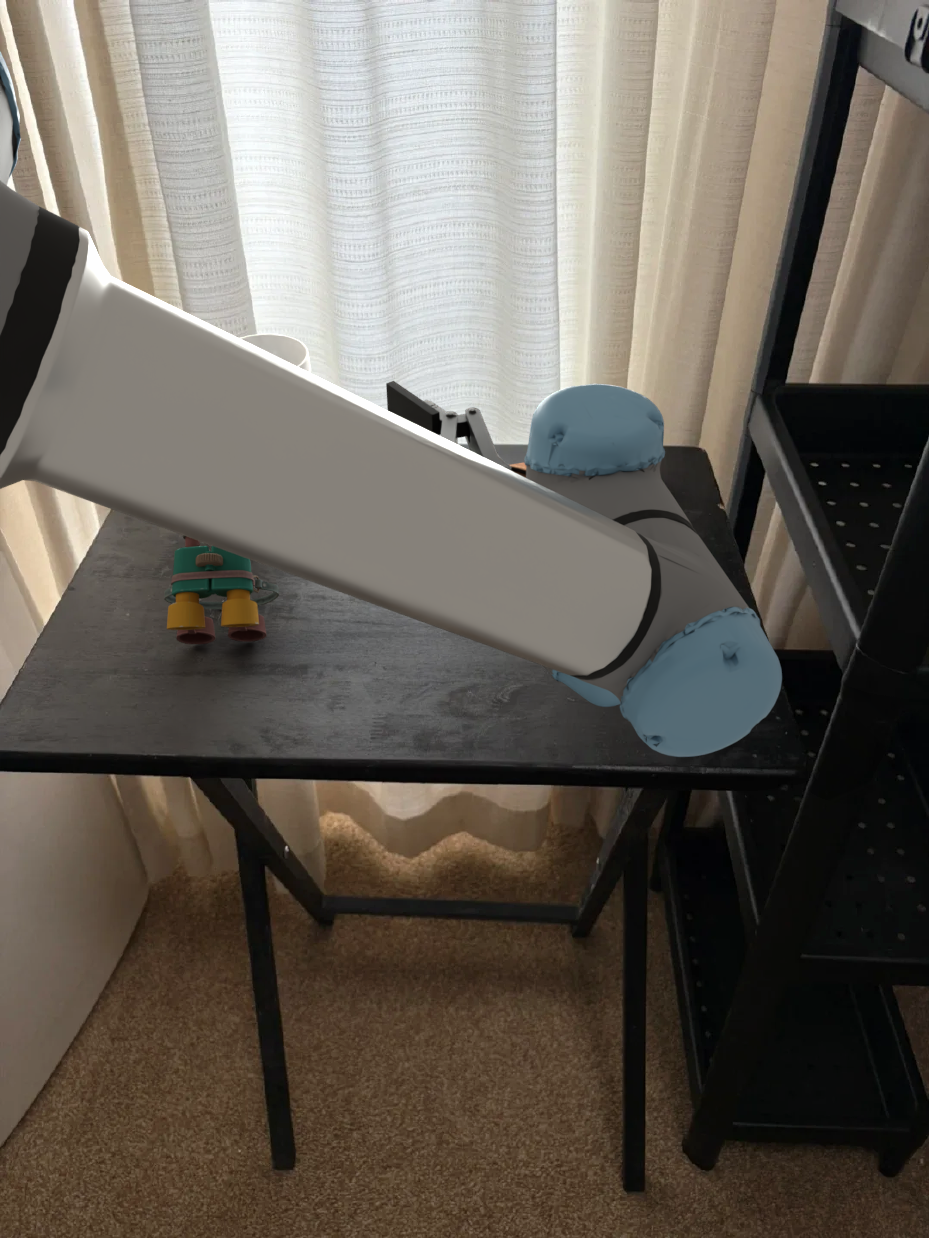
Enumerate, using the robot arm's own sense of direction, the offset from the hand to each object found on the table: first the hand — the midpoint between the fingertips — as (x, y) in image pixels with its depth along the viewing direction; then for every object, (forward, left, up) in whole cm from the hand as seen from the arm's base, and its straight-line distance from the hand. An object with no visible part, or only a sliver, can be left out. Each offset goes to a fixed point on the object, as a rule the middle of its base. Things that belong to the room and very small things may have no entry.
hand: (322, 421), depth 86 cm
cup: (-3, +9, -14) cm, 17 cm away
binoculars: (-11, -8, -14) cm, 20 cm away
